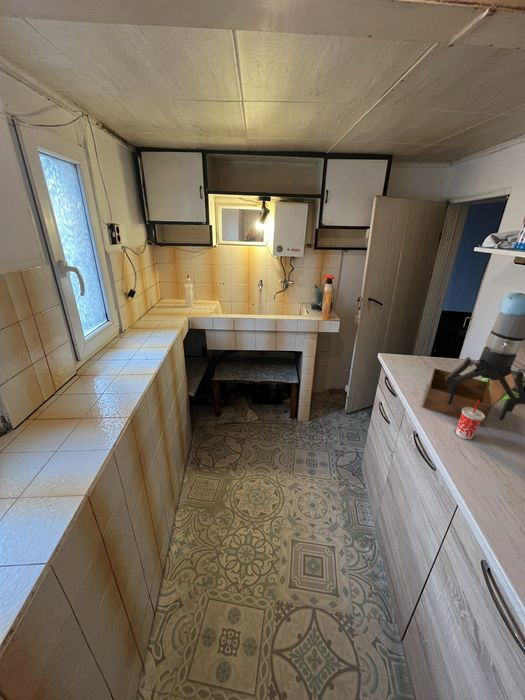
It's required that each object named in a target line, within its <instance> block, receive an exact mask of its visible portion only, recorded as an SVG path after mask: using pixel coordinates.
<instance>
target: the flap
mask: <svg viewBox="0 0 525 700" xmlns="http://www.w3.org/2000/svg"><path fill="white" fill-rule="evenodd" d="M505 379H506V381H507V382H508V384H509V386H510V388H511V389H512V390H514V389H515V388H517V383H516V380H515V378H514V377H513V375H512V374H509V375H507V376H505ZM488 381H489V388H490V396H491V404H492V406H495V405H496V404H497V403H498V402H499V401H501V400H502V399H503V398H504V397H505V396H507V395H508V394H507V393H506V391H505V389H504V387H503V386H502V384H501V383H500V381H499V380H495V381H494V380H491V379H489V380H488Z"/></svg>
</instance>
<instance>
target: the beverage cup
mask: <svg viewBox="0 0 525 700" xmlns="http://www.w3.org/2000/svg"><path fill="white" fill-rule="evenodd" d="M479 401H480V400H479V399H478V401H477V404H476V406H475V408H470V407H464V408H463V409H462V415H461V418H460V419H459V421H458V424H457V427H456V430H455V433H456V435H457V436H458V437H460V438H462V439H463V440H472V439H473V437H474V436H475V434H476V432H477V430H478V428H479V427H480V423H481V421H482V420H484V418H485V415H484V414H483V413H482V412H481V411H479V410H477V409H476V408H477V406H478V404H479Z"/></svg>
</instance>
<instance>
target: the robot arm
mask: <svg viewBox="0 0 525 700" xmlns="http://www.w3.org/2000/svg"><path fill="white" fill-rule="evenodd" d="M488 335H489V336H488V338H487V340H486V341H485V342H486V343H485V346H484V348H483V349H482V352H481V355H480V357H479V359H478V360H475V359H472V358H471V357H470V356H466V358H465V359H464V361H463V362H462V364H460V365H459V366H458V367H456V368H455V369H454V370H453V371H450V372H451V373H450V374H449V375H448V376H446V378H445V382H447V383H449V384H450V386H449V389H448V393H449V394H450V397H449V400H448V404H450V405H451V402H452V400H453V397H454V395H455V392H456V390H457V385H458V384H460V383H462V382H465V381H467V380H469V379H472V378H474V379H475V378H478V377H481V378H483V379H489V380H490V379H491V380H494V381H495V380H499V381H500V383H501V384H502V386H503V387H504V389H505V391H506V393H507V394H506V395H507V397H508V398H506V400H505V402H504V404H503V406H502V408H501V410H500V412H499V414H498V420H499V421H501V422H503V421H504V419H505V417H506V415H507V414H508V413H512V412H513V411H514V409H515V407H516V406H517V405H519V404H521V405H525V389H524V384H523V379H524V376H525V375H524V371H523V369H512V366H513V365H514V362H515V360H516V358H517V354H518V353H519V352H520V350H521V347H522V346H523V343H524V341H525V293H523V292H511V293H509V294H507V295H505V296H504V297H503V298H502V299H501V301H500V302H499V309H498V313H497V316H496V318H495V321H494V323H493V325H492V328H491V331H490V333H489V334H488ZM472 366H475V368H474V369H472V370H471V371H469V372H466V373H465V374H462V373H463V372H464V371H466V370H467V369H468V368H469V367H472ZM509 374H512V375H513V378H514V379H515V384H516V388H517V392H518V396H516V394H515V393H514V390H513V389H511V388H510V386H509V384H508V382H507V381H506V379H505V376H507V375H509ZM458 375H462V376H460V377H457V378H455V377H456V376H458ZM454 378H455V379H454Z"/></svg>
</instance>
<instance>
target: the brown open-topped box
mask: <svg viewBox="0 0 525 700" xmlns="http://www.w3.org/2000/svg"><path fill="white" fill-rule="evenodd" d="M451 372H452V371H447V370H444V369H439V368H435V367H434V368H433V370H432V374H431V377H430V381H429V383H428V387H427V390H426V394H425V397H424V402H423V404H422V405H423V406H422V407H423V408H425V409H428V410H431V411H434V412H437V413H440V414H444V415H446V416H450V417H452V418H455V419H459V420H460V418H461V415H462V409H463V408H464V407H470V408H475V406H476V404H477V401H478V399H479V400H480V401H479V404H478V406H477V408H476V409H477V410H479V411H481V412H482V413H483V414H484V415H485V418H484V420H482V421H481V423H480V425H479V427H484V425H485V423H486V420H487V419H488V416H489V414H490V412H491V410H492V407H493V405H492V399H491V391H490V383H489V382H488V381H485V380H481V379H478V378H475V377H474V378H472V379H469V380H467V381H465V382H462V383H460V384H458V385H457V390H456V392H455V395H454V397H453V400H452V402H451V405H450V404H448V400H449V397H450V394H449V393H448V389H449V386H450V384H449V383H447V382H445V378H446V376H448V375H449V374H450V373H451ZM462 375H463V374H459V375H458V376H456V377H455V378H457V377H460V376H462ZM455 378H454V379H455Z"/></svg>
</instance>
